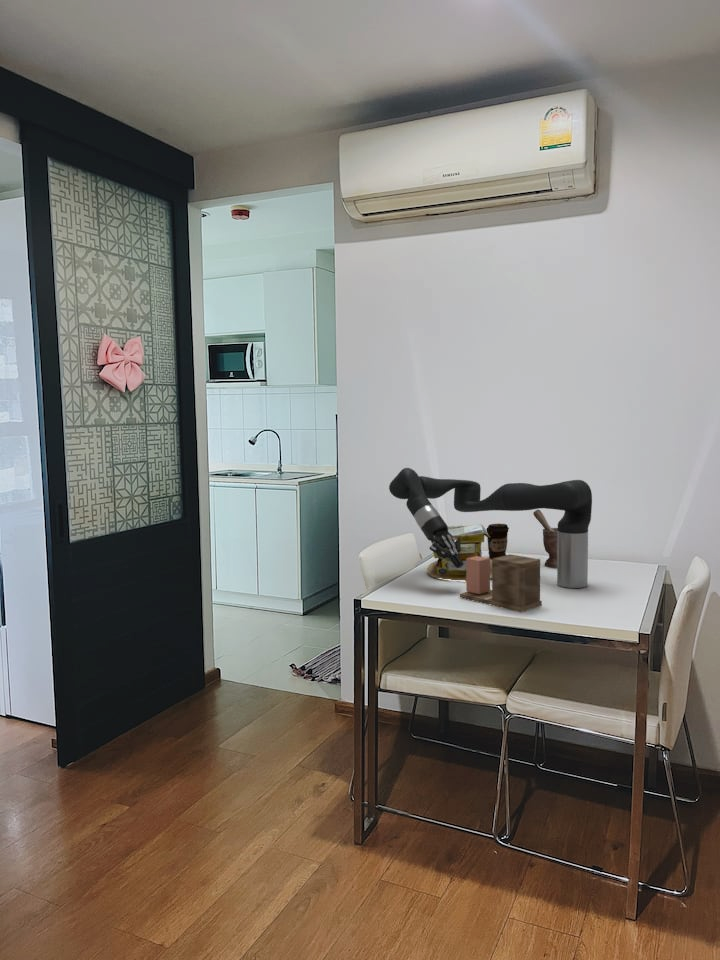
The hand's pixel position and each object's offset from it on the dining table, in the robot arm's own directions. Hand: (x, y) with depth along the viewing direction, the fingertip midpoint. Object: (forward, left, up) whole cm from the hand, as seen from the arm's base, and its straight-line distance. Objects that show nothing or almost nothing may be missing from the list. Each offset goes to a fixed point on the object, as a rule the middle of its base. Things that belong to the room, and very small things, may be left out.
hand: (460, 566), depth 223 cm
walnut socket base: (+10, +10, -8) cm, 16 cm away
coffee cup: (-48, +18, -8) cm, 52 cm away
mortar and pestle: (-36, +35, -8) cm, 51 cm away
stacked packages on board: (-25, +3, -9) cm, 27 cm away
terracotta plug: (+5, +5, -7) cm, 9 cm away
